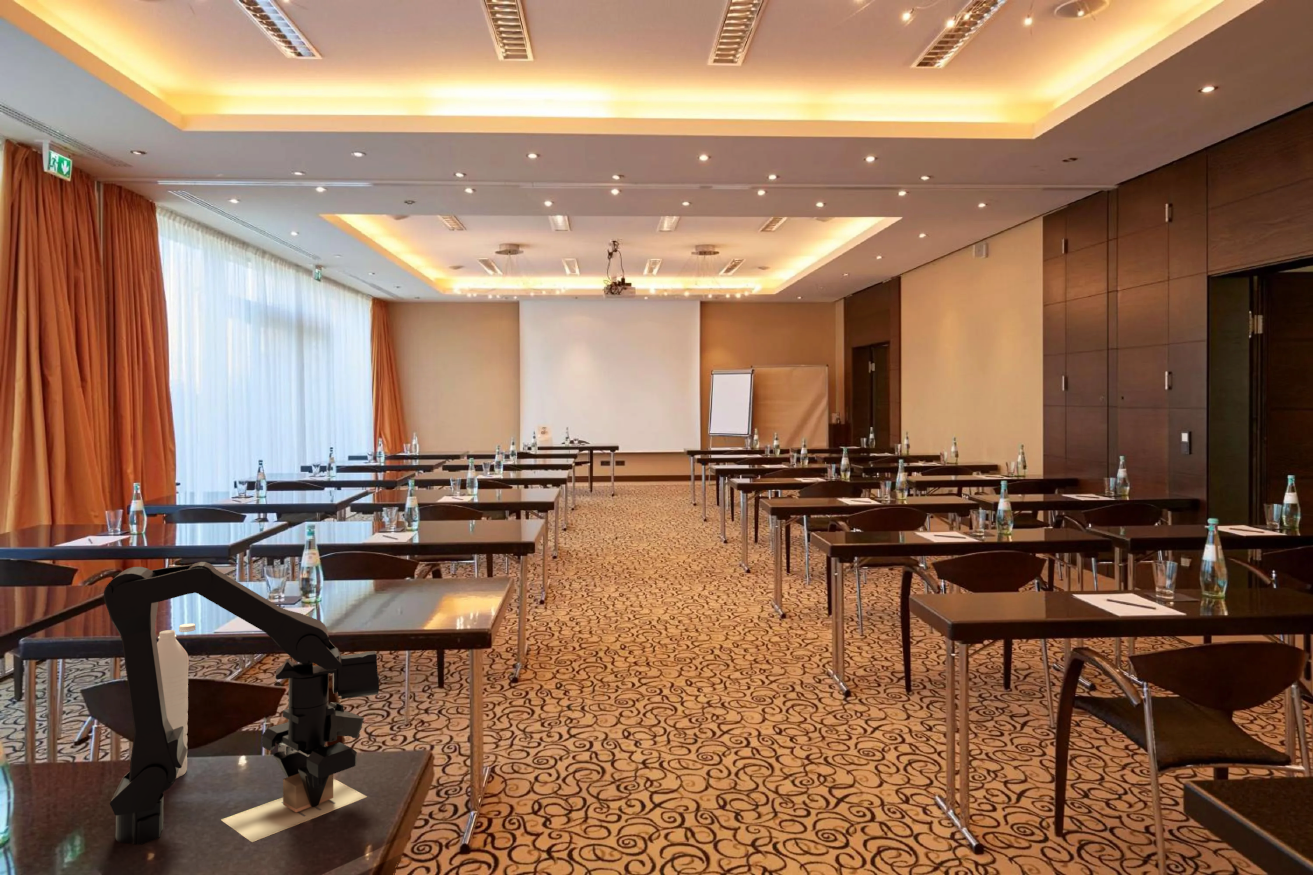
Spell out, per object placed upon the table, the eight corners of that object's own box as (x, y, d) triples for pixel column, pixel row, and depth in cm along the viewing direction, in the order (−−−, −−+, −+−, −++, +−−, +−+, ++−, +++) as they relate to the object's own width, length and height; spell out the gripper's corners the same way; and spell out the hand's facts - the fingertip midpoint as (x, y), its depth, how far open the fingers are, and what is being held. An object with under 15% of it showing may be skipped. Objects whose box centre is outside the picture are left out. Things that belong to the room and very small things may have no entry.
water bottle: (165, 785, 130) (167, 636, 130) (133, 780, 131) (135, 633, 131) (206, 763, 138) (208, 624, 138) (175, 759, 140) (177, 622, 140)
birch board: (220, 829, 116) (220, 819, 116) (333, 787, 130) (334, 778, 130) (251, 852, 110) (251, 841, 110) (367, 805, 124) (367, 796, 124)
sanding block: (283, 804, 120) (283, 778, 120) (320, 790, 125) (320, 765, 125) (296, 812, 118) (296, 786, 118) (333, 797, 122) (333, 772, 122)
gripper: (388, 701, 122) (387, 800, 122) (326, 677, 133) (325, 767, 133) (320, 722, 113) (319, 828, 113) (260, 694, 124) (259, 791, 124)
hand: (307, 801), depth 121 cm, fingers closed on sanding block, 4 cm apart
